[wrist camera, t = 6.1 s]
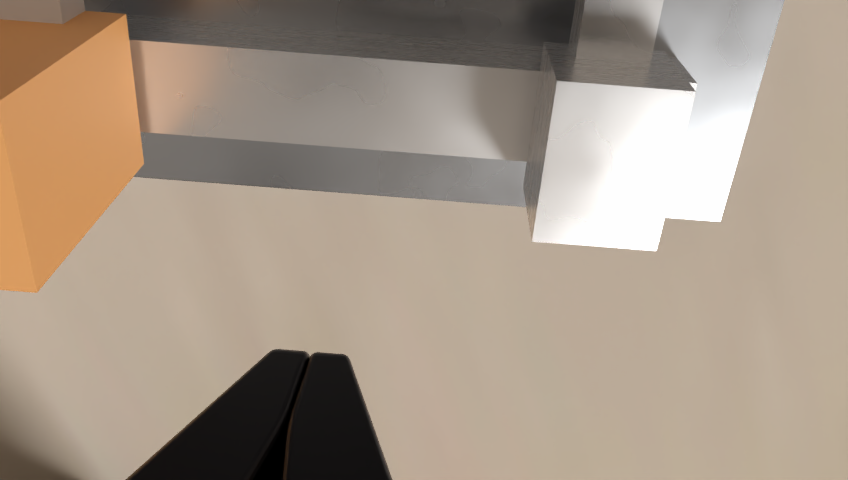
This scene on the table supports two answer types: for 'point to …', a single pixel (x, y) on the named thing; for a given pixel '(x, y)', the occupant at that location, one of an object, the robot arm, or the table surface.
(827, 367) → the table surface
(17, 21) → the slider
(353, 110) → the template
